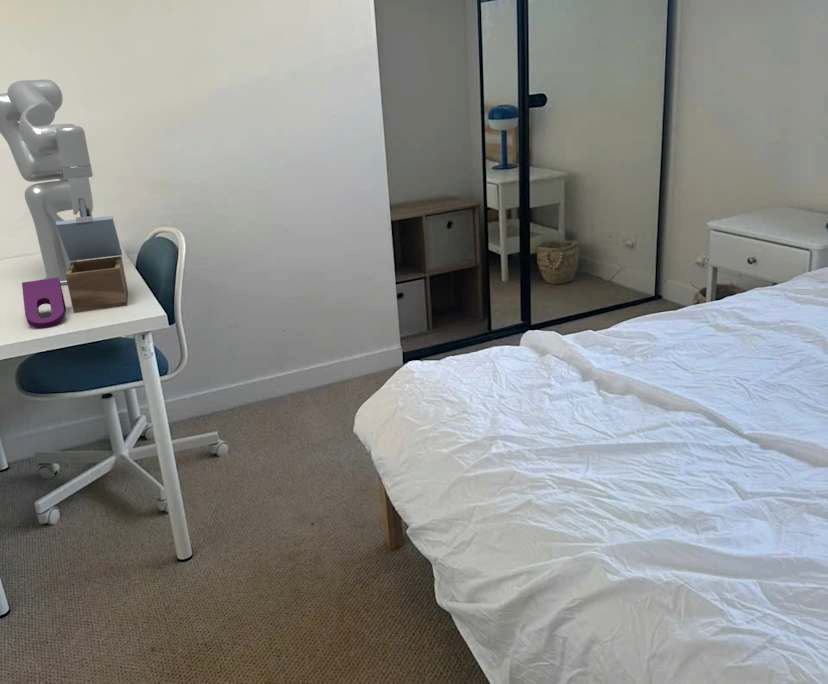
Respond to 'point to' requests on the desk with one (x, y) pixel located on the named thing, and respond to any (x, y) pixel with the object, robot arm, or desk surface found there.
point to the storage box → (97, 284)
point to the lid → (89, 237)
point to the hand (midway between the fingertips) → (90, 236)
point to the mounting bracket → (43, 302)
